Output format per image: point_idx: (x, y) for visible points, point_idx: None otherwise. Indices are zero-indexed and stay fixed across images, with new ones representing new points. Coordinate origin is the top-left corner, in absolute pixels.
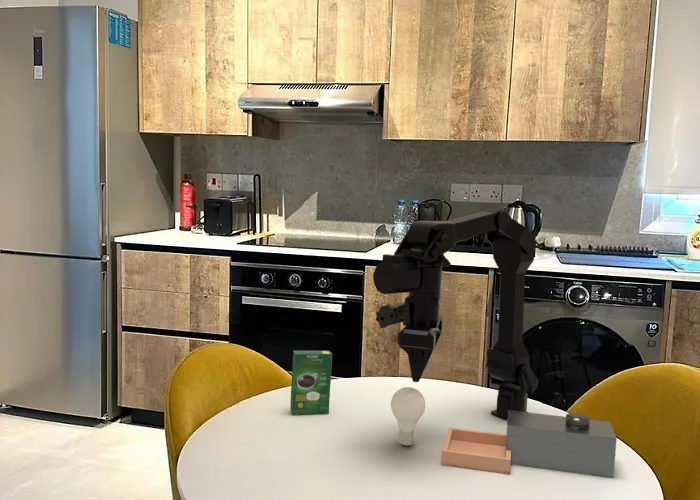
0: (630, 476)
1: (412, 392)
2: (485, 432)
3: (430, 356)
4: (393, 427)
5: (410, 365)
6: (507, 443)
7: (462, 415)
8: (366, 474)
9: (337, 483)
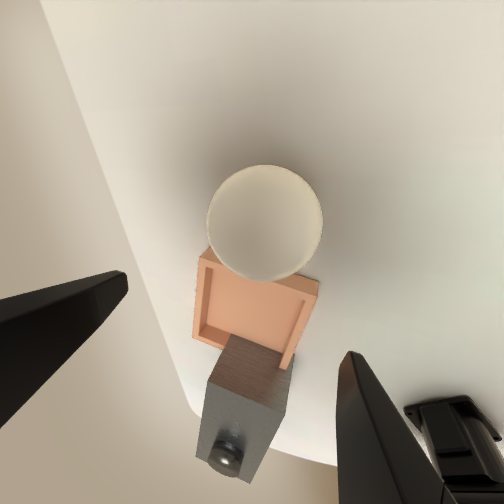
0: None
1: (222, 252)
2: (293, 346)
3: (338, 464)
4: (409, 172)
5: (5, 301)
6: (221, 355)
7: (473, 347)
8: (141, 104)
9: (90, 41)
